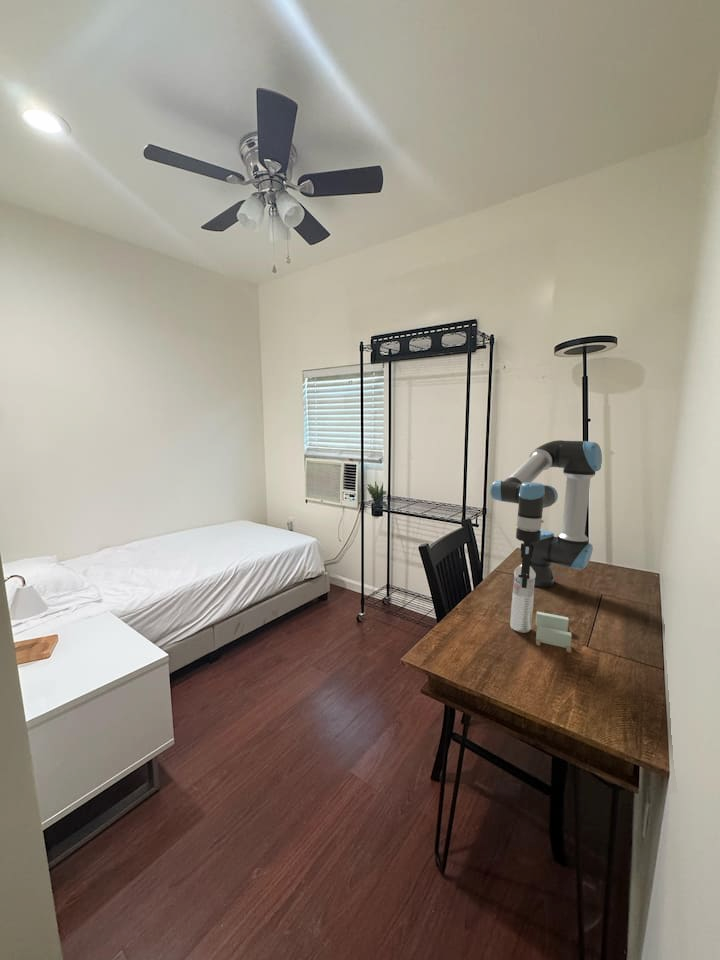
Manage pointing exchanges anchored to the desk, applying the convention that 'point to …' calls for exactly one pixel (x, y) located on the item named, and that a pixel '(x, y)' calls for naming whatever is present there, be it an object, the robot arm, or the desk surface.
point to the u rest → (553, 630)
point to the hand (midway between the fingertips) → (523, 588)
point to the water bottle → (522, 603)
